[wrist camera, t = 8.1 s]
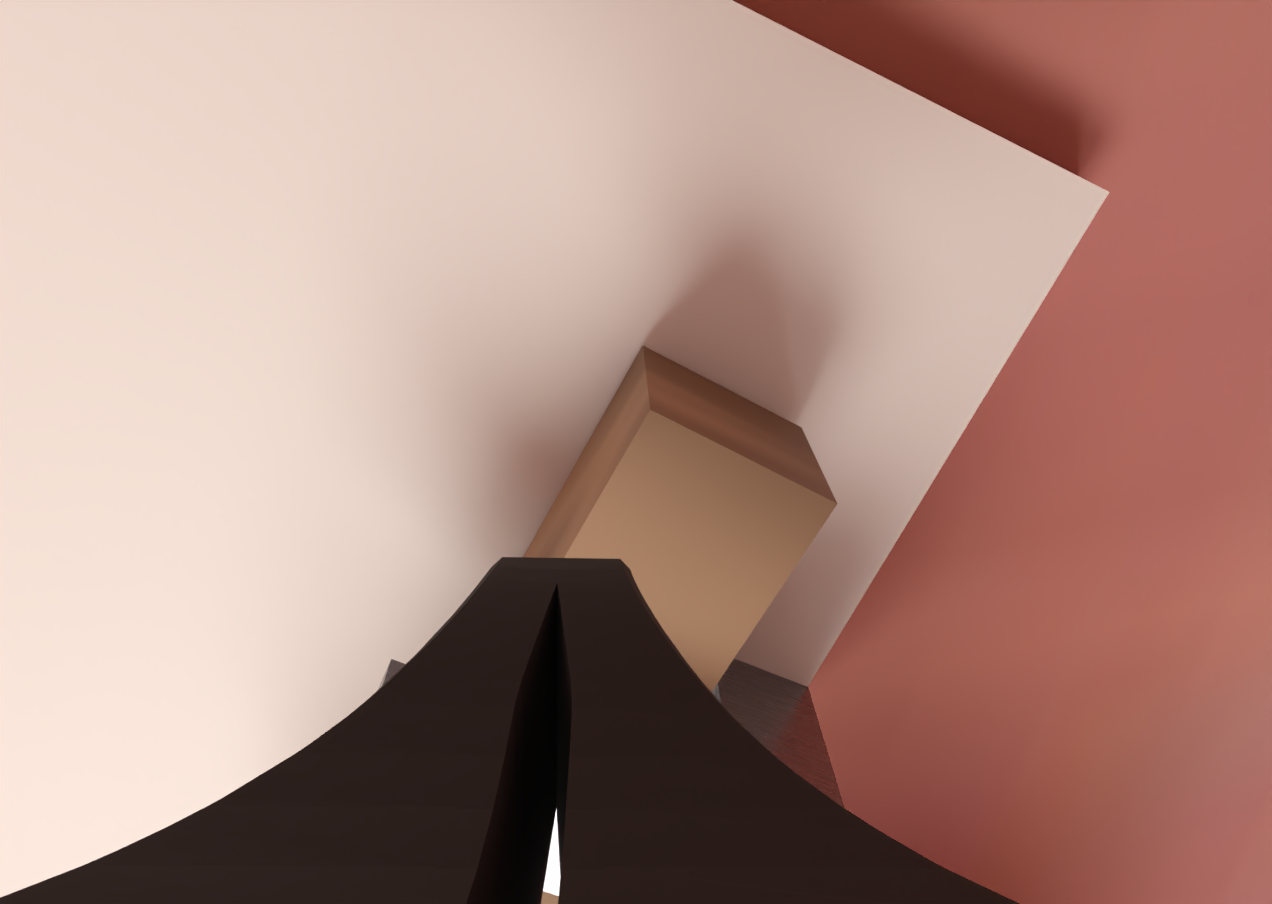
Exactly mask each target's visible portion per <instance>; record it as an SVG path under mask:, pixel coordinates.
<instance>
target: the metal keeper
mask: <svg viewBox="0 0 1272 904" xmlns="http://www.w3.org/2000/svg"><path fill="white" fill-rule="evenodd" d="M404 665H405V664H404V663H401V662H399V661H396V660H393V659H391V661H390V663H389V665H388V667H387V670H386V672H385V674H384V676H383V679H382V681H381V683H380V686H379V688H381V687H382V686H383V685H384V684H385V683H386V682H387V681H388V680H389V679H390V678H391V677H392V676H393V675H394V674H396V673H397V672H398V671H399V670H400V669H401V668H402V667H403V666H404ZM379 688H378V689H379ZM712 693H713V695H714V696H715V697H716V698H717V699H718V700H719V702H720V703H721V704H722V705H723V706H724V707H725V708H726V709H727V710H728V712H729V713H730V714H731V715H732V716H733V717H734V718H735V719H736V720H737V721H738V722H739V723H740V724H741V725H742V726H743V727H744V728H745V729H746V730H747V731H748V732H749V733H750V734H751V735H752V736H753V737H754V738H755V739H757V740H758V741H759V742H760V743H761V744H762V745H763V746H764V747H765V748H766V749H767V750H769V751H770V752H771V753H772V754H773V755H774V756H775V757H777V758H778V759H779V760H780V761H782V762H783V763H784V764H785V765H786V766H788V767H789V768H790V769H791V770H793V771H794V772H795V773H796V774H798V775H799V776H800V777H802V778H803V779H805V780H806V781H807V782H809V783H810V784H811V785H813V786H814V787H815V788H817V789H818V790H820V791H821V792H822V793H824V794H825V795H826V796H828V797H829V798H830V799H832V800H833V801H835V802H836V803H837V804H839V805H840V806H841V807H843V808H844V805H843V802H842V799H841V795H840V792H839V789H838V785H837V782H836V779H835V775H834V772H833V769H832V765H831V762H830V759H829V756H828V752H827V749H826V746H825V742H824V739H823V736H822V732H821V729H820V726H819V722H818V719H817V716H816V712H815V709H814V706H813V702H812V699H811V696H810V692H809V689H808V687H807V686H804V685H802V684H799V683H796V682H794V681H791V680H789V679H786V678H783V677H781V676H778V675H776V674H773V673H770V672H768V671H765V670H763V669H760V668H757V667H755V666H752V665H750V664H747V663H744V662H742V661H739V660H737V659H733V661H732V662H731V664H730V665H729V667H728V668H727V670H726V671H725V673H724V674H723V676H722V677H721V679H720V680H719V682H718V683H717V685H716V686H715V688H714V689H713V691H712ZM559 888H560V861H559V844H558V827H557V810H556V813H555V820H554V826H553V832H552V838H551V845H550V851H549V857H548V863H547V870H546V876H545V882H544V888H543V891H544V892H547V893H551V894H554V895H557V896H559Z"/></svg>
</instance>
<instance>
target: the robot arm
mask: <svg viewBox="0 0 1272 904" xmlns="http://www.w3.org/2000/svg"><path fill="white" fill-rule="evenodd" d="M556 810H557V827H558V844H559V861H560V888H559V898H558V904H1019V903H1017V902H1015V901H1012V900H1010V899H1008V898H1006V897H1004V896H1002V895H1000V894H998V893H996V892H993V891H991V890H989V889H987V888H985V887H983V886H981V885H979V884H977V883H974V882H972V881H970V880H968V879H966V878H964V877H962V876H960V875H958V874H955V873H953V872H951V871H949V870H947V869H945V868H943V867H941V866H939V865H937V864H936V863H934V862H932V861H930V860H928V859H927V858H925V857H923V856H921V855H920V854H918V853H916V852H915V851H913V850H911V849H909V848H908V847H906V846H904V845H903V844H901V843H899V842H897V841H896V840H894V839H892V838H890V837H889V836H887V835H885V834H884V833H882V832H880V831H878V830H877V829H875V828H874V827H872V826H871V825H869V824H868V823H866V822H864V821H863V820H861V819H860V818H858V817H857V816H855V815H854V814H852V813H851V812H849V811H847V810H846V809H844V808H843V807H841V806H840V805H839V804H837V803H836V802H835V801H833V800H832V799H830V798H829V797H828V796H826V795H825V794H824V793H822V792H821V791H820V790H818V789H817V788H815V787H814V786H813V785H811V784H810V783H809V782H807V781H806V780H805V779H803V778H802V777H800V776H799V775H798V774H796V773H795V772H794V771H793V770H791V769H790V768H789V767H788V766H786V765H785V764H784V763H783V762H782V761H780V760H779V759H778V758H777V757H775V756H774V755H773V754H772V753H771V752H770V751H769V750H767V749H766V748H765V747H764V746H763V745H762V744H761V743H760V742H759V741H758V740H757V739H755V738H754V737H753V736H752V735H751V734H750V733H749V732H748V731H747V730H746V729H745V728H744V727H743V726H742V725H741V724H740V723H739V722H738V721H737V720H736V719H735V718H734V717H733V716H732V715H731V714H730V713H729V712H728V710H727V709H726V708H725V707H724V706H723V705H722V704H721V703H720V702H719V700H718V699H717V698H716V697H715V696H714V695H713V693H712V692H711V691H710V690H709V689H708V688H707V687H706V685H705V684H704V683H703V682H702V681H701V679H700V678H699V677H698V676H697V674H696V673H695V672H694V671H693V669H692V668H691V667H690V666H689V664H688V663H687V662H686V660H685V659H684V658H683V656H682V655H681V653H680V652H679V651H678V649H677V648H676V647H675V645H674V644H673V642H672V641H671V640H670V638H669V637H668V635H667V634H666V633H665V631H664V630H663V628H662V627H661V625H660V624H659V622H658V621H657V619H656V618H655V616H654V614H653V613H652V611H651V609H650V608H649V606H648V604H647V603H646V601H645V599H644V597H643V596H642V594H641V592H640V590H639V588H638V586H637V584H636V582H635V580H634V578H633V575H632V573H631V570H630V568H629V567H628V566H627V565H626V564H625V563H624V562H623V561H622V560H621V559H601V558H532V557H502V558H501V559H500V560H498V561H497V562H496V563H495V564H494V565H493V566H492V567H491V568H490V569H489V571H488V572H487V573H486V575H485V576H484V577H483V578H482V580H481V581H480V582H479V584H478V585H477V586H476V587H475V589H474V590H473V591H472V592H471V593H470V595H469V596H468V597H467V598H466V600H465V601H464V602H463V603H462V604H461V605H460V607H459V608H458V609H457V610H456V611H455V612H454V614H453V615H452V616H451V617H450V618H449V619H448V620H447V621H446V622H445V624H444V625H443V626H442V627H441V628H440V629H439V630H438V631H437V632H436V633H435V634H434V635H433V636H432V638H431V639H430V640H429V641H428V642H427V643H426V644H425V645H424V646H423V647H422V648H421V649H420V650H419V651H418V652H417V653H416V655H415V656H414V657H413V658H412V659H410V660H409V661H408V662H407V663H406V664H405V665H404V666H403V667H402V668H401V669H400V670H399V671H398V672H397V673H396V674H394V675H393V676H392V677H391V678H390V679H389V680H388V681H387V682H386V683H385V684H384V685H383V686H382V687H381V688H379V689H378V690H377V691H376V692H375V693H374V694H373V695H372V696H371V697H370V698H369V699H367V700H366V701H365V702H364V703H363V704H362V705H360V706H359V707H358V708H357V709H356V710H354V711H353V712H352V713H351V714H350V715H348V716H347V717H346V718H344V719H343V720H342V721H340V722H339V723H338V724H336V725H335V726H333V727H332V728H331V729H329V730H328V731H327V732H325V733H324V734H323V735H321V736H320V737H318V738H317V739H316V740H314V741H313V742H312V743H310V744H309V745H307V746H306V747H304V748H303V749H301V750H300V751H298V752H297V753H295V754H294V755H292V756H290V757H289V758H287V759H286V760H284V761H282V762H281V763H279V764H277V765H276V766H274V767H272V768H271V769H269V770H267V771H266V772H264V773H263V774H261V775H259V776H258V777H256V778H254V779H253V780H251V781H249V782H248V783H246V784H244V785H243V786H241V787H239V788H238V789H236V790H235V791H233V792H231V793H230V794H228V795H226V796H225V797H223V798H221V799H219V800H218V801H216V802H214V803H212V804H210V805H209V806H207V807H205V808H203V809H201V810H199V811H197V812H195V813H193V814H191V815H189V816H187V817H185V818H183V819H181V820H180V821H178V822H176V823H174V824H172V825H170V826H168V827H166V828H164V829H162V830H160V831H157V832H155V833H153V834H151V835H149V836H147V837H145V838H143V839H140V840H138V841H136V842H134V843H132V844H130V845H128V846H126V847H123V848H121V849H119V850H117V851H115V852H113V853H110V854H108V855H106V856H103V857H101V858H99V859H96V860H94V861H92V862H90V863H87V864H85V865H83V866H80V867H78V868H75V869H72V870H70V871H67V872H65V873H62V874H60V875H57V876H54V877H52V878H49V879H47V880H44V881H42V882H39V883H36V884H34V885H31V886H29V887H26V888H24V889H21V890H18V891H16V892H13V893H11V894H8V895H6V896H3V897H0V904H541V900H542V894H543V888H544V882H545V876H546V870H547V863H548V857H549V851H550V845H551V838H552V832H553V826H554V820H555V813H556Z"/></svg>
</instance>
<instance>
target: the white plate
mask: <svg viewBox="0 0 1272 904" xmlns="http://www.w3.org/2000/svg"><path fill="white" fill-rule="evenodd" d="M1108 193H1109V192H1108V191H1107V190H1105V189H1103V188H1101V187H1099V186H1097V185H1095V184H1093V183H1091V182H1089V181H1087V180H1085V179H1083V178H1081V177H1079V176H1077V175H1075V174H1073V173H1071V172H1069V171H1067V170H1065V169H1063V168H1061V167H1059V166H1057V165H1055V164H1053V163H1051V162H1049V161H1048V160H1046V159H1044V158H1042V157H1040V156H1038V155H1036V154H1034V153H1032V152H1030V151H1028V150H1026V149H1024V148H1022V147H1020V146H1018V145H1016V144H1014V143H1012V142H1010V141H1008V140H1006V139H1004V138H1002V137H1000V136H998V135H996V134H994V133H992V132H990V131H989V130H987V129H985V128H983V127H981V126H979V125H977V124H975V123H973V122H971V121H969V120H967V119H965V118H963V117H961V116H959V115H957V114H955V113H953V112H951V111H949V110H947V109H945V108H943V107H941V106H939V105H937V104H935V103H933V102H931V101H930V100H928V99H926V98H924V97H922V96H920V95H918V94H916V93H914V92H912V91H910V90H908V89H906V88H904V87H902V86H900V85H898V84H896V83H894V82H892V81H890V80H888V79H886V78H884V77H882V76H880V75H878V74H876V73H874V72H872V71H871V70H869V69H867V68H865V67H863V66H861V65H859V64H857V63H855V62H853V61H851V60H849V59H847V58H845V57H843V56H841V55H839V54H837V53H835V52H833V51H831V50H829V49H827V48H825V47H823V46H821V45H819V44H817V43H815V42H813V41H812V40H810V39H808V38H806V37H804V36H802V35H800V34H798V33H796V32H794V31H792V30H790V29H788V28H786V27H784V26H782V25H780V24H778V23H776V22H774V21H772V20H770V19H768V18H766V17H764V16H762V15H760V14H758V13H756V12H754V11H753V10H751V9H749V8H747V7H745V6H743V5H741V4H739V3H737V2H735V1H733V0H0V897H3V896H6V895H8V894H11V893H13V892H16V891H18V890H21V889H24V888H26V887H29V886H31V885H34V884H36V883H39V882H42V881H44V880H47V879H49V878H52V877H54V876H57V875H60V874H62V873H65V872H67V871H70V870H72V869H75V868H78V867H80V866H83V865H85V864H87V863H90V862H92V861H94V860H96V859H99V858H101V857H103V856H106V855H108V854H110V853H113V852H115V851H117V850H119V849H121V848H123V847H126V846H128V845H130V844H132V843H134V842H136V841H138V840H140V839H143V838H145V837H147V836H149V835H151V834H153V833H155V832H157V831H160V830H162V829H164V828H166V827H168V826H170V825H172V824H174V823H176V822H178V821H180V820H181V819H183V818H185V817H187V816H189V815H191V814H193V813H195V812H197V811H199V810H201V809H203V808H205V807H207V806H209V805H210V804H212V803H214V802H216V801H218V800H219V799H221V798H223V797H225V796H226V795H228V794H230V793H231V792H233V791H235V790H236V789H238V788H239V787H241V786H243V785H244V784H246V783H248V782H249V781H251V780H253V779H254V778H256V777H258V776H259V775H261V774H263V773H264V772H266V771H267V770H269V769H271V768H272V767H274V766H276V765H277V764H279V763H281V762H282V761H284V760H286V759H287V758H289V757H290V756H292V755H294V754H295V753H297V752H298V751H300V750H301V749H303V748H304V747H306V746H307V745H309V744H310V743H312V742H313V741H314V740H316V739H317V738H318V737H320V736H321V735H323V734H324V733H325V732H327V731H328V730H329V729H331V728H332V727H333V726H335V725H336V724H338V723H339V722H340V721H342V720H343V719H344V718H346V717H347V716H348V715H350V714H351V713H352V712H353V711H354V710H356V709H357V708H358V707H359V706H360V705H362V704H363V703H364V702H365V701H366V700H367V699H369V698H370V697H371V696H372V695H373V694H374V693H375V692H376V691H377V690H378V688H379V686H380V683H381V681H382V679H383V676H384V674H385V672H386V670H387V667H388V665H389V663H390V661H391V659H393V660H396V661H399V662H401V663H404V664H406V663H407V662H408V661H409V660H410V659H412V658H413V657H414V656H415V655H416V653H417V652H418V651H419V650H420V649H421V648H422V647H423V646H424V645H425V644H426V643H427V642H428V641H429V640H430V639H431V638H432V636H433V635H434V634H435V633H436V632H437V631H438V630H439V629H440V628H441V627H442V626H443V625H444V624H445V622H446V621H447V620H448V619H449V618H450V617H451V616H452V615H453V614H454V612H455V611H456V610H457V609H458V608H459V607H460V605H461V604H462V603H463V602H464V601H465V600H466V598H467V597H468V596H469V595H470V593H471V592H472V591H473V590H474V589H475V587H476V586H477V585H478V584H479V582H480V581H481V580H482V578H483V577H484V576H485V575H486V573H487V572H488V571H489V569H490V568H491V567H492V566H493V565H494V564H495V563H496V562H497V561H498V560H500V559H501V558H502V557H523V556H524V554H525V553H526V551H527V549H528V547H529V546H530V544H531V542H532V540H533V539H534V537H535V535H536V533H537V531H538V530H539V528H540V526H541V524H542V523H543V521H544V519H545V517H546V516H547V514H548V512H549V510H550V508H551V507H552V505H553V503H554V501H555V500H556V498H557V496H558V494H559V493H560V491H561V489H562V487H563V485H564V484H565V482H566V480H567V478H568V477H569V475H570V473H571V471H572V469H573V468H574V466H575V464H576V462H577V461H578V459H579V457H580V455H581V454H582V452H583V450H584V448H585V446H586V445H587V443H588V441H589V439H590V438H591V436H592V434H593V432H594V431H595V429H596V427H597V425H598V423H599V422H600V420H601V418H602V416H603V415H604V413H605V411H606V409H607V408H608V406H609V404H610V402H611V400H612V399H613V397H614V395H615V393H616V392H617V390H618V388H619V386H620V385H621V383H622V381H623V379H624V377H625V376H626V374H627V372H628V370H629V369H630V367H631V365H632V363H633V361H634V360H635V358H636V356H637V354H638V353H639V351H640V349H641V347H642V346H645V347H647V348H649V349H651V350H653V351H655V352H657V353H659V354H660V355H662V356H664V357H666V358H668V359H670V360H672V361H674V362H676V363H678V364H680V365H682V366H684V367H686V368H688V369H689V370H691V371H693V372H695V373H697V374H699V375H701V376H703V377H705V378H707V379H709V380H711V381H713V382H715V383H717V384H719V385H720V386H722V387H724V388H726V389H728V390H730V391H732V392H734V393H736V394H738V395H740V396H742V397H744V398H746V399H748V400H749V401H751V402H753V403H755V404H757V405H759V406H761V407H763V408H765V409H767V410H769V411H771V412H773V413H775V414H777V415H779V416H780V417H782V418H784V419H786V420H788V421H790V422H792V423H794V424H796V425H798V426H800V427H802V430H803V432H804V434H805V436H806V438H807V440H808V442H809V444H810V447H811V449H812V451H813V453H814V455H815V457H816V459H817V461H818V464H819V466H820V468H821V470H822V472H823V474H824V476H825V478H826V480H827V483H828V485H829V487H830V489H831V491H832V493H833V495H834V497H835V500H836V502H837V505H836V507H835V508H834V510H833V511H832V513H831V514H830V516H829V517H828V519H827V520H826V522H825V523H824V525H823V526H822V528H821V529H820V531H819V532H818V534H817V535H816V537H815V538H814V540H813V541H812V543H811V544H810V546H809V547H808V549H807V550H806V552H805V553H804V555H803V556H802V558H801V559H800V561H799V562H798V564H797V565H796V567H795V568H794V570H793V571H792V573H791V574H790V576H789V577H788V579H787V580H786V582H785V583H784V585H783V586H782V588H781V589H780V591H779V592H778V594H777V595H776V597H775V598H774V600H773V601H772V603H771V604H770V606H769V607H768V608H767V610H766V611H765V613H764V614H763V616H762V617H761V619H760V620H759V622H758V623H757V625H756V626H755V628H754V629H753V631H752V632H751V634H750V635H749V637H748V638H747V640H746V641H745V643H744V644H743V646H742V647H741V649H740V650H739V652H738V653H737V655H736V656H735V658H734V659H737V660H739V661H742V662H744V663H747V664H750V665H752V666H755V667H757V668H760V669H763V670H765V671H768V672H770V673H773V674H776V675H778V676H781V677H783V678H786V679H789V680H791V681H794V682H796V683H799V684H802V685H804V686H807V687H808V686H809V684H810V683H811V681H812V679H813V678H814V676H815V674H816V673H817V671H818V669H819V668H820V666H821V665H822V663H823V661H824V660H825V658H826V656H827V655H828V653H829V651H830V650H831V648H832V646H833V645H834V643H835V642H836V640H837V638H838V637H839V635H840V633H841V632H842V630H843V628H844V627H845V625H846V623H847V622H848V620H849V619H850V617H851V615H852V614H853V612H854V610H855V609H856V607H857V605H858V604H859V602H860V601H861V599H862V597H863V596H864V594H865V592H866V591H867V589H868V587H869V586H870V584H871V582H872V581H873V579H874V578H875V576H876V574H877V573H878V571H879V569H880V568H881V566H882V564H883V563H884V561H885V559H886V558H887V556H888V555H889V553H890V551H891V550H892V548H893V546H894V545H895V543H896V541H897V540H898V538H899V536H900V535H901V533H902V532H903V530H904V528H905V527H906V525H907V523H908V522H909V520H910V518H911V517H912V515H913V514H914V512H915V510H916V509H917V507H918V505H919V504H920V502H921V500H922V499H923V497H924V495H925V494H926V492H927V491H928V489H929V487H930V486H931V484H932V482H933V481H934V479H935V477H936V476H937V474H938V472H939V471H940V469H941V468H942V466H943V464H944V463H945V461H946V459H947V458H948V456H949V454H950V453H951V451H952V449H953V448H954V446H955V445H956V443H957V441H958V440H959V438H960V436H961V435H962V433H963V431H964V430H965V428H966V427H967V425H968V423H969V422H970V420H971V418H972V417H973V415H974V413H975V412H976V410H977V408H978V407H979V405H980V404H981V402H982V400H983V399H984V397H985V395H986V394H987V392H988V390H989V389H990V387H991V385H992V384H993V382H994V381H995V379H996V377H997V376H998V374H999V372H1000V371H1001V369H1002V367H1003V366H1004V364H1005V362H1006V361H1007V359H1008V358H1009V356H1010V354H1011V353H1012V351H1013V349H1014V348H1015V346H1016V344H1017V343H1018V341H1019V340H1020V338H1021V336H1022V335H1023V333H1024V331H1025V330H1026V328H1027V326H1028V325H1029V323H1030V321H1031V320H1032V318H1033V317H1034V315H1035V313H1036V312H1037V310H1038V308H1039V307H1040V305H1041V303H1042V302H1043V300H1044V298H1045V297H1046V295H1047V294H1048V292H1049V290H1050V289H1051V287H1052V285H1053V284H1054V282H1055V280H1056V279H1057V277H1058V275H1059V274H1060V272H1061V271H1062V269H1063V267H1064V266H1065V264H1066V262H1067V261H1068V259H1069V257H1070V256H1071V254H1072V252H1073V251H1074V249H1075V248H1076V246H1077V244H1078V243H1079V241H1080V239H1081V238H1082V236H1083V234H1084V233H1085V231H1086V230H1087V228H1088V226H1089V225H1090V223H1091V221H1092V220H1093V218H1094V216H1095V215H1096V213H1097V211H1098V210H1099V208H1100V207H1101V205H1102V203H1103V202H1104V200H1105V198H1106V197H1107V195H1108Z"/></svg>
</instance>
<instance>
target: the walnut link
mask: <svg viewBox="0 0 1272 904" xmlns="http://www.w3.org/2000/svg"><path fill="white" fill-rule="evenodd" d="M836 505H837V502H836V500H835V497H834V495H833V493H832V491H831V489H830V487H829V485H828V483H827V480H826V478H825V476H824V474H823V472H822V470H821V468H820V466H819V464H818V461H817V459H816V457H815V455H814V453H813V451H812V449H811V447H810V444H809V442H808V440H807V438H806V436H805V434H804V432H803V430H802V427H800V426H798V425H796V424H794V423H792V422H790V421H788V420H786V419H784V418H782V417H780V416H779V415H777V414H775V413H773V412H771V411H769V410H767V409H765V408H763V407H761V406H759V405H757V404H755V403H753V402H751V401H749V400H748V399H746V398H744V397H742V396H740V395H738V394H736V393H734V392H732V391H730V390H728V389H726V388H724V387H722V386H720V385H719V384H717V383H715V382H713V381H711V380H709V379H707V378H705V377H703V376H701V375H699V374H697V373H695V372H693V371H691V370H689V369H688V368H686V367H684V366H682V365H680V364H678V363H676V362H674V361H672V360H670V359H668V358H666V357H664V356H662V355H660V354H659V353H657V352H655V351H653V350H651V349H649V348H647V347H645V346H642V347H641V349H640V351H639V353H638V354H637V356H636V358H635V360H634V361H633V363H632V365H631V367H630V369H629V370H628V372H627V374H626V376H625V377H624V379H623V381H622V383H621V385H620V386H619V388H618V390H617V392H616V393H615V395H614V397H613V399H612V400H611V402H610V404H609V406H608V408H607V409H606V411H605V413H604V415H603V416H602V418H601V420H600V422H599V423H598V425H597V427H596V429H595V431H594V432H593V434H592V436H591V438H590V439H589V441H588V443H587V445H586V446H585V448H584V450H583V452H582V454H581V455H580V457H579V459H578V461H577V462H576V464H575V466H574V468H573V469H572V471H571V473H570V475H569V477H568V478H567V480H566V482H565V484H564V485H563V487H562V489H561V491H560V493H559V494H558V496H557V498H556V500H555V501H554V503H553V505H552V507H551V508H550V510H549V512H548V514H547V516H546V517H545V519H544V521H543V523H542V524H541V526H540V528H539V530H538V531H537V533H536V535H535V537H534V539H533V540H532V542H531V544H530V546H529V547H528V549H527V551H526V553H525V554H524V556H523V557H532V558H601V559H621V560H622V561H623V562H624V563H625V564H626V565H627V566H628V567H629V568H630V570H631V573H632V575H633V578H634V580H635V582H636V584H637V586H638V588H639V590H640V592H641V594H642V596H643V597H644V599H645V601H646V603H647V604H648V606H649V608H650V609H651V611H652V613H653V614H654V616H655V618H656V619H657V621H658V622H659V624H660V625H661V627H662V628H663V630H664V631H665V633H666V634H667V635H668V637H669V638H670V640H671V641H672V642H673V644H674V645H675V647H676V648H677V649H678V651H679V652H680V653H681V655H682V656H683V658H684V659H685V660H686V662H687V663H688V664H689V666H690V667H691V668H692V669H693V671H694V672H695V673H696V674H697V676H698V677H699V678H700V679H701V681H702V682H703V683H704V684H705V685H706V687H707V688H708V689H709V690H710V691H711V692H712V691H713V689H714V688H715V686H716V685H717V683H718V682H719V680H720V679H721V677H722V676H723V674H724V673H725V671H726V670H727V668H728V667H729V665H730V664H731V662H732V661H733V659H734V658H735V656H736V655H737V653H738V652H739V650H740V649H741V647H742V646H743V644H744V643H745V641H746V640H747V638H748V637H749V635H750V634H751V632H752V631H753V629H754V628H755V626H756V625H757V623H758V622H759V620H760V619H761V617H762V616H763V614H764V613H765V611H766V610H767V608H768V607H769V606H770V604H771V603H772V601H773V600H774V598H775V597H776V595H777V594H778V592H779V591H780V589H781V588H782V586H783V585H784V583H785V582H786V580H787V579H788V577H789V576H790V574H791V573H792V571H793V570H794V568H795V567H796V565H797V564H798V562H799V561H800V559H801V558H802V556H803V555H804V553H805V552H806V550H807V549H808V547H809V546H810V544H811V543H812V541H813V540H814V538H815V537H816V535H817V534H818V532H819V531H820V529H821V528H822V526H823V525H824V523H825V522H826V520H827V519H828V517H829V516H830V514H831V513H832V511H833V510H834V508H835V507H836ZM558 898H559V896H557V895H554V894H551V893H547V892H544V891H543V894H542V900H541V904H558Z"/></svg>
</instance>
